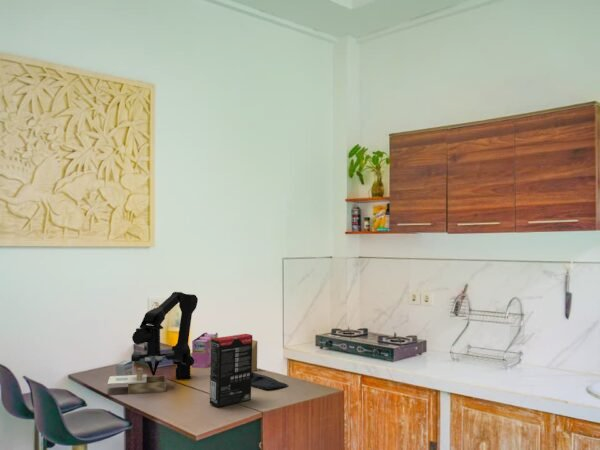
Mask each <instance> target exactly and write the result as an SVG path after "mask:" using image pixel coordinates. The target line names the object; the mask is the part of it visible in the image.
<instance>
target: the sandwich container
mask: <svg viewBox="0 0 600 450" xmlns="http://www.w3.org/2000/svg"><path fill="white" fill-rule="evenodd" d="M255 370H256V371H258V341H257V340H254V339H252V372H253V373H254V372H256V371H255Z"/></svg>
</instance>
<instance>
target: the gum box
mask: <svg viewBox="0 0 600 450" xmlns="http://www.w3.org/2000/svg"><path fill="white" fill-rule="evenodd" d="M212 338H219V336H218V333H217V332H216V333H215V334H214V333H208V332H203V333H202V334H201V335H200V336H198V337H196V338H195V339H193V340H192V343H191V346H192V347H191V348H192V350H191V356H192V358H193V359H194V364H193V365H192V366H191V368H201V369H202V368H203V369H205V368H208V367H209V366H211V339H212Z"/></svg>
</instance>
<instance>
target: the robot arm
mask: <svg viewBox="0 0 600 450" xmlns="http://www.w3.org/2000/svg"><path fill="white" fill-rule="evenodd" d="M198 301H199V300H198V297H197V295H196V294H189V293H184V292H182V291H173V292H172V293H171V295H170V296H169V297H167V298H166V299H165V300H164V301H163V302H162V303H161V304H160V305H159V306H157V307H156V308H153V309H152V308H151V309H150V310H149V311H147V312H146V313H145V314H144V316H143V319H142V321H141V323H140V325H139V327H137V328H135V332H133V334H132V337H131V338H132V342H133V343H134V345H137V346H139V345H143V347H144V348H143V351H144V352H146V353H145V354H143V353H142V352H132V353H131V356H130V358H131V359H130V361H132V363H133V362H140V361H141V360H142V359H143V360H144V363H145V364H147V365H148V367H149V369H150V372H151V376H156V372H157V370H158V366H159V364H160V363H162V362H163V359H166V360H168V361H171V360H172V363H173V365H176V367H175V368H174V369H175V372H174V373H175V378H176V380H187V379H189V380H190V379H192V378H191V367H192V365H193V364H194V359H193V358H192V354H191V348H190V345H189V339H190V338H189V337H190V331H191V325H192V324H191V323H192V317H193V313H194V312H195V310H196V309H197V305H198ZM177 305H178V307H179V309H180V311H181V314H180V321H179V329H178V336H177V343H176V344H175V345H173V346H172V347H171V350H166V351H165V353H164V352H161V330H163V329H164V326H163V325H162V324H163V322H164V321H165V320H166V315H167V314H168V313H169V312H170V311H171V310H172V309H173V308H174V307H176V306H177ZM153 359H154V360H155V361H154V363H153ZM153 364H154V365H153Z"/></svg>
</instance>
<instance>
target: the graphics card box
mask: <svg viewBox="0 0 600 450" xmlns="http://www.w3.org/2000/svg"><path fill="white" fill-rule="evenodd" d="M253 339H254V337H253V334H250V333H241V334H234V335H227V336H221V337H218V338H212V339H211V364H210V379H209V404H210V405H212V406H215V407H217V408H220V407H224V406H229V405H234V404H238V403H242V402H241V401H243V402H247V401H250V400H252V399H251V397H252V386H251V373H252V340H253ZM249 399H250V400H249ZM246 400H247V401H246ZM237 402H238V403H237ZM233 403H234V404H233Z"/></svg>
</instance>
